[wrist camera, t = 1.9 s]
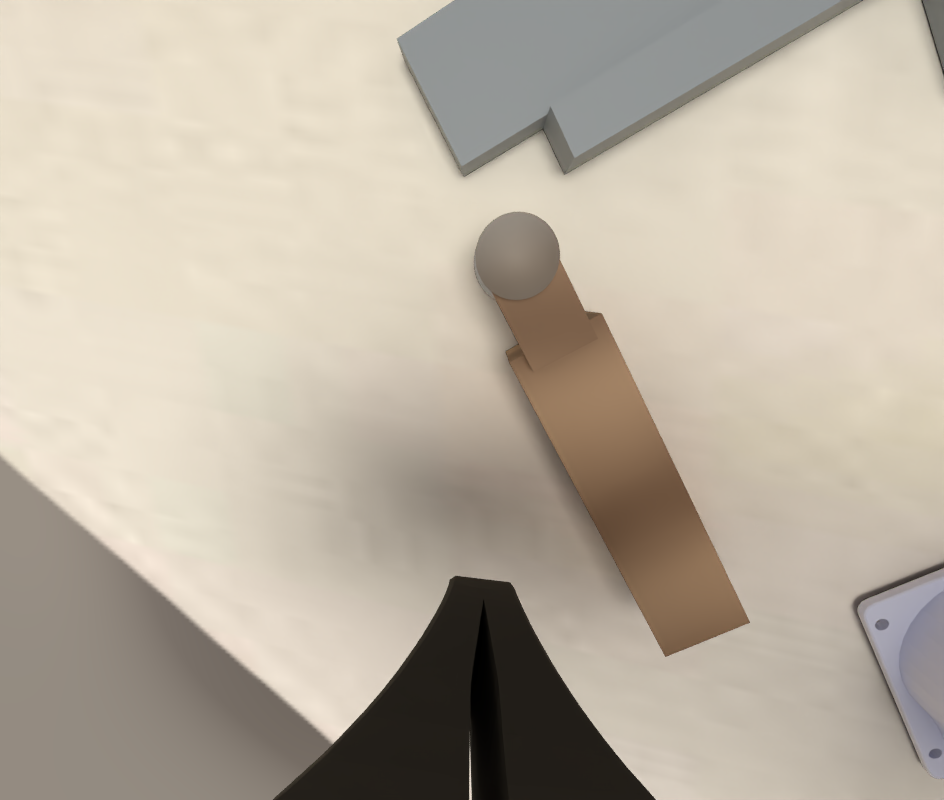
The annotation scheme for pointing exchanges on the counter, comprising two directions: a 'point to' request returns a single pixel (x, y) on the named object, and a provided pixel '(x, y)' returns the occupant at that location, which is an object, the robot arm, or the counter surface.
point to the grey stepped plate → (591, 65)
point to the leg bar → (606, 437)
